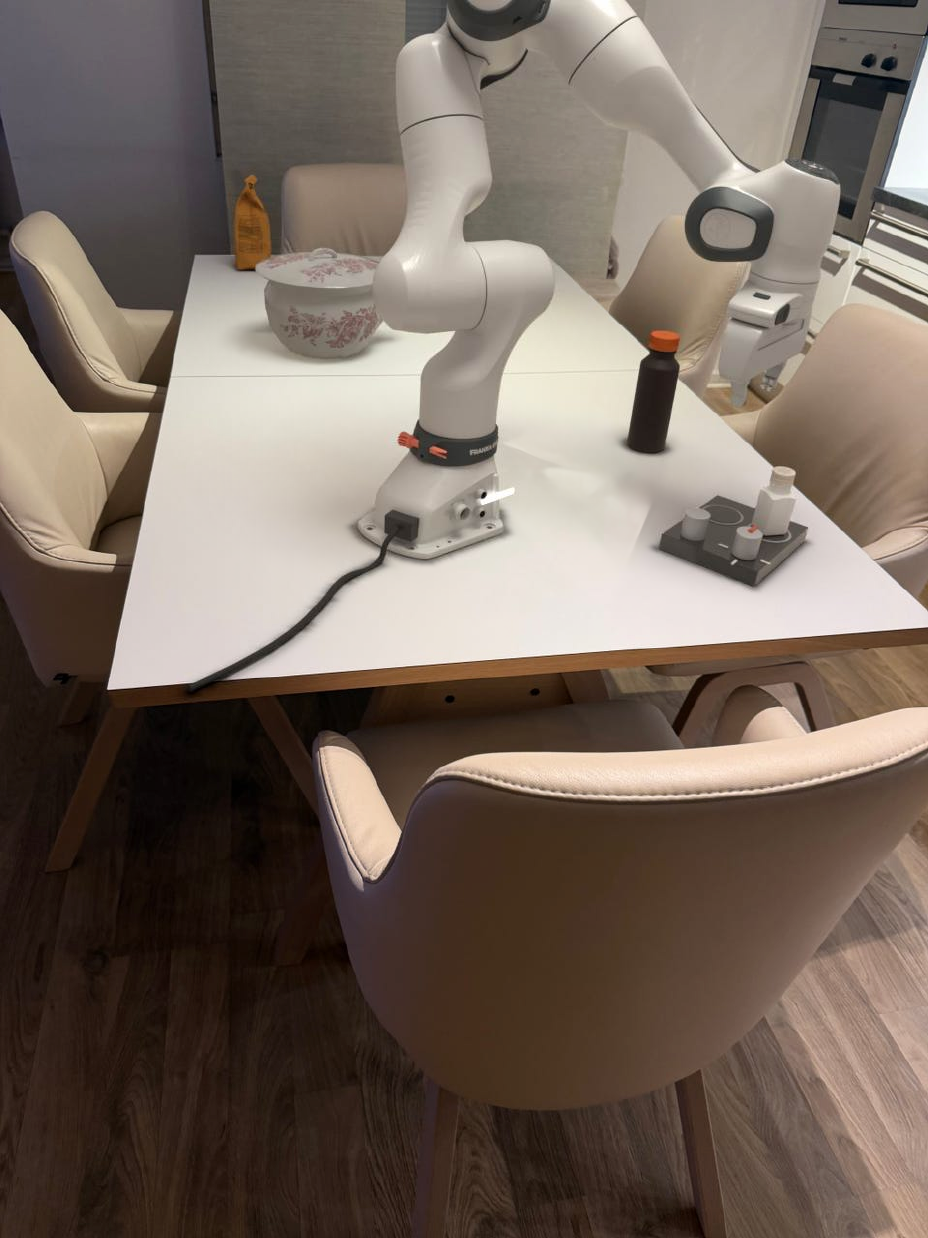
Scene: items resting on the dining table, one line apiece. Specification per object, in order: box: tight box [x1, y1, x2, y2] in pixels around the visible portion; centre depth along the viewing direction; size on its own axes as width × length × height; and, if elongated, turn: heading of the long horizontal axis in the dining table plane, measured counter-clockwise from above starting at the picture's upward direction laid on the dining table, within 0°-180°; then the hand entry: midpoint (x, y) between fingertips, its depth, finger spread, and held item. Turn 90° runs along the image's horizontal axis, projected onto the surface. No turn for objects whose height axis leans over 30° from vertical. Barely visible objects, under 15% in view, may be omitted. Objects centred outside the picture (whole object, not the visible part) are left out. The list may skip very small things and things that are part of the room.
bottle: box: [626, 330, 681, 454], centre depth 165 cm, size 7×7×20 cm
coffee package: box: [233, 174, 272, 271], centre depth 251 cm, size 10×12×22 cm
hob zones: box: [681, 505, 791, 543], centre depth 139 cm, size 14×14×4 cm
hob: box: [658, 494, 809, 587], centre depth 141 cm, size 19×15×3 cm
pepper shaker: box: [752, 465, 797, 536], centre depth 138 cm, size 4×4×10 cm
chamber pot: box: [255, 247, 384, 360], centre depth 198 cm, size 28×28×21 cm
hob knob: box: [731, 526, 763, 560], centre depth 133 cm, size 4×4×4 cm
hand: (752, 397), depth 133 cm, fingers open, 8 cm apart
